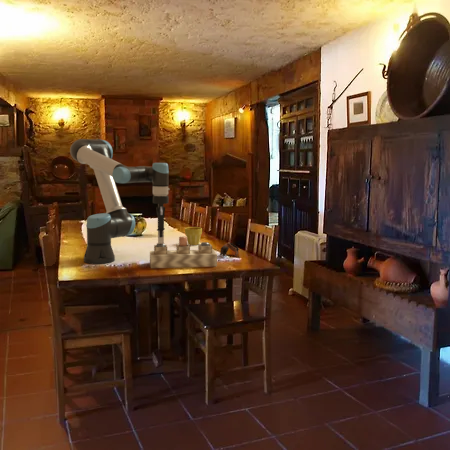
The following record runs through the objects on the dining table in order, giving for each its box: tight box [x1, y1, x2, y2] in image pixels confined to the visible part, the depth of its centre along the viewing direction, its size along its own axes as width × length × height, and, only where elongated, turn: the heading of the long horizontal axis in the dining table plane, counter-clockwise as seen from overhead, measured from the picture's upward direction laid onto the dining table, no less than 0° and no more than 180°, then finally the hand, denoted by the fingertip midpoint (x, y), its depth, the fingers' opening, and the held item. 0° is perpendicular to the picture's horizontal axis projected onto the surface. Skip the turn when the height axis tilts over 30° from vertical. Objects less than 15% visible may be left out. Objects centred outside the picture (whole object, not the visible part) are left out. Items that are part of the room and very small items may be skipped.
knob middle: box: [178, 236, 188, 247], centre depth 245 cm, size 4×4×4 cm
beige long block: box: [149, 243, 218, 269], centre depth 246 cm, size 32×12×10 cm, turn 101°
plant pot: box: [184, 226, 203, 246], centre depth 299 cm, size 10×10×10 cm
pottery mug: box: [219, 241, 240, 257], centre depth 268 cm, size 12×10×8 cm
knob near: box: [156, 242, 166, 247], centre depth 243 cm, size 4×4×4 cm
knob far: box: [200, 241, 210, 246], centre depth 247 cm, size 4×4×4 cm
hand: (160, 243), depth 243 cm, fingers closed
